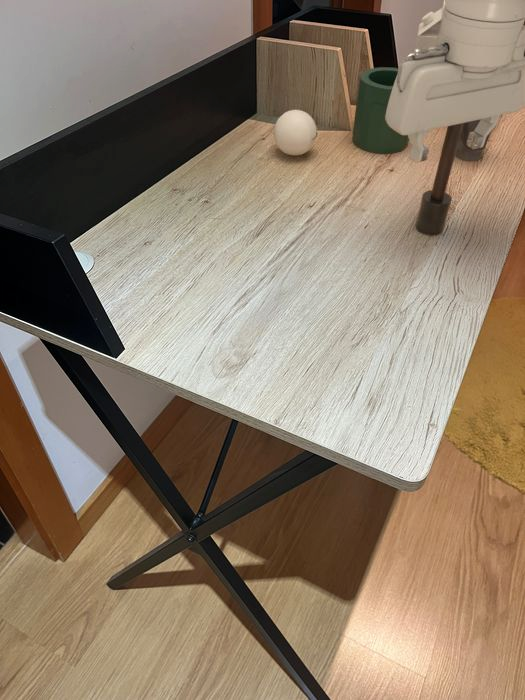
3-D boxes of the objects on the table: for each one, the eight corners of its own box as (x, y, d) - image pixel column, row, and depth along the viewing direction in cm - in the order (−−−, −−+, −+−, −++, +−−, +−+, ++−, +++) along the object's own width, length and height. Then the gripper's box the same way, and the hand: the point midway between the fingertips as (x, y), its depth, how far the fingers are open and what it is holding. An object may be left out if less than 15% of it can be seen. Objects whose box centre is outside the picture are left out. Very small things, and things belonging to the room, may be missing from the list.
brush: (440, 220, 85) (476, 89, 71) (445, 236, 82) (483, 101, 68) (413, 219, 85) (444, 88, 71) (417, 234, 82) (449, 100, 69)
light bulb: (309, 166, 96) (312, 123, 91) (267, 159, 98) (268, 116, 93) (324, 141, 103) (327, 100, 98) (284, 135, 105) (286, 94, 99)
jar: (404, 130, 107) (416, 68, 99) (410, 155, 100) (424, 90, 92) (351, 128, 107) (358, 66, 99) (353, 152, 100) (362, 88, 92)
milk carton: (440, 110, 113) (465, 1, 100) (439, 125, 108) (466, 13, 95) (403, 106, 114) (424, -2, 101) (401, 121, 110) (422, 9, 96)
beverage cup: (453, 142, 103) (484, 18, 89) (493, 151, 101) (532, 26, 87) (441, 158, 99) (472, 31, 85) (483, 168, 96) (522, 39, 82)
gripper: (421, 59, 60) (395, 179, 70) (561, 37, 67) (520, 149, 77) (386, 41, 64) (367, 157, 74) (522, 21, 71) (488, 130, 81)
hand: (446, 153), depth 75 cm, fingers open, 8 cm apart
